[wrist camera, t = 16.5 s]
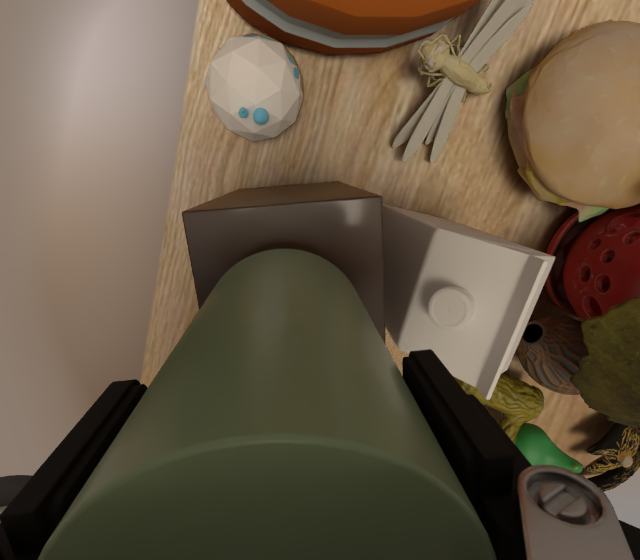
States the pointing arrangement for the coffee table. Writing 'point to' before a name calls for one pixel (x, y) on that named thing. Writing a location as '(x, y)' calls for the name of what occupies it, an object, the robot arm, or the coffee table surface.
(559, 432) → the coffee table surface
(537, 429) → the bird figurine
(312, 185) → the plinth
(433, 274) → the milk carton
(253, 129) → the ornament
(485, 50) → the toy
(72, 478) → the robot arm
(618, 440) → the rubber snake
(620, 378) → the pottery fragment
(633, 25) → the burger
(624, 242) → the red colander
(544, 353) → the vase
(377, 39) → the orange rounded case
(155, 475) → the tin
